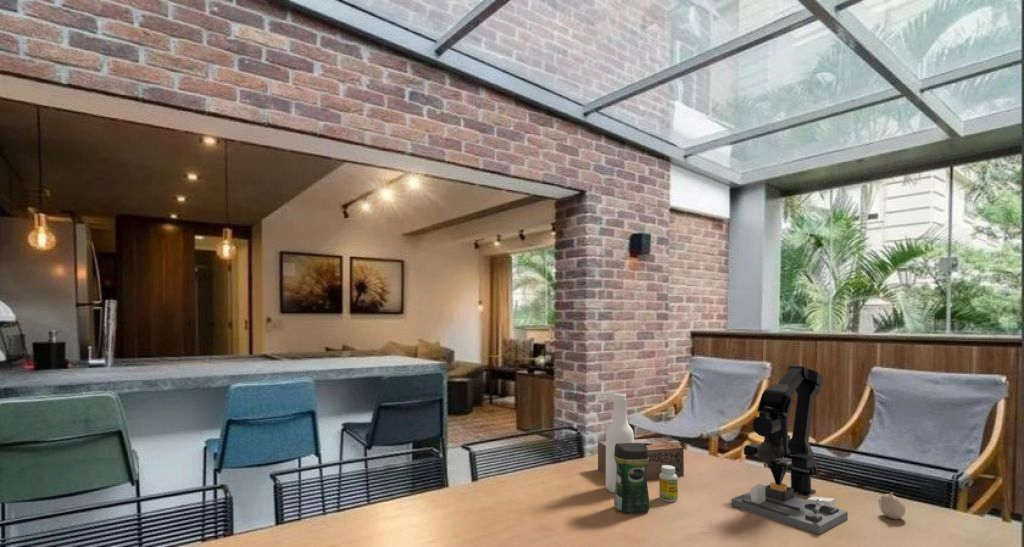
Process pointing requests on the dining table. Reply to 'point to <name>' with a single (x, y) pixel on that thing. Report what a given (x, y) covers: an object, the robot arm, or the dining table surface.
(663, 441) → the tissue box cover
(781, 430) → the robot arm
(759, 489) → the grey angular block
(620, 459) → the coffee jar
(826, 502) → the white slab
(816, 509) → the toggle lever
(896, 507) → the garlic bulb
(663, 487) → the supplement bottle
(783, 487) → the push button
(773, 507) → the panel
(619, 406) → the alcohol
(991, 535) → the dining table surface
